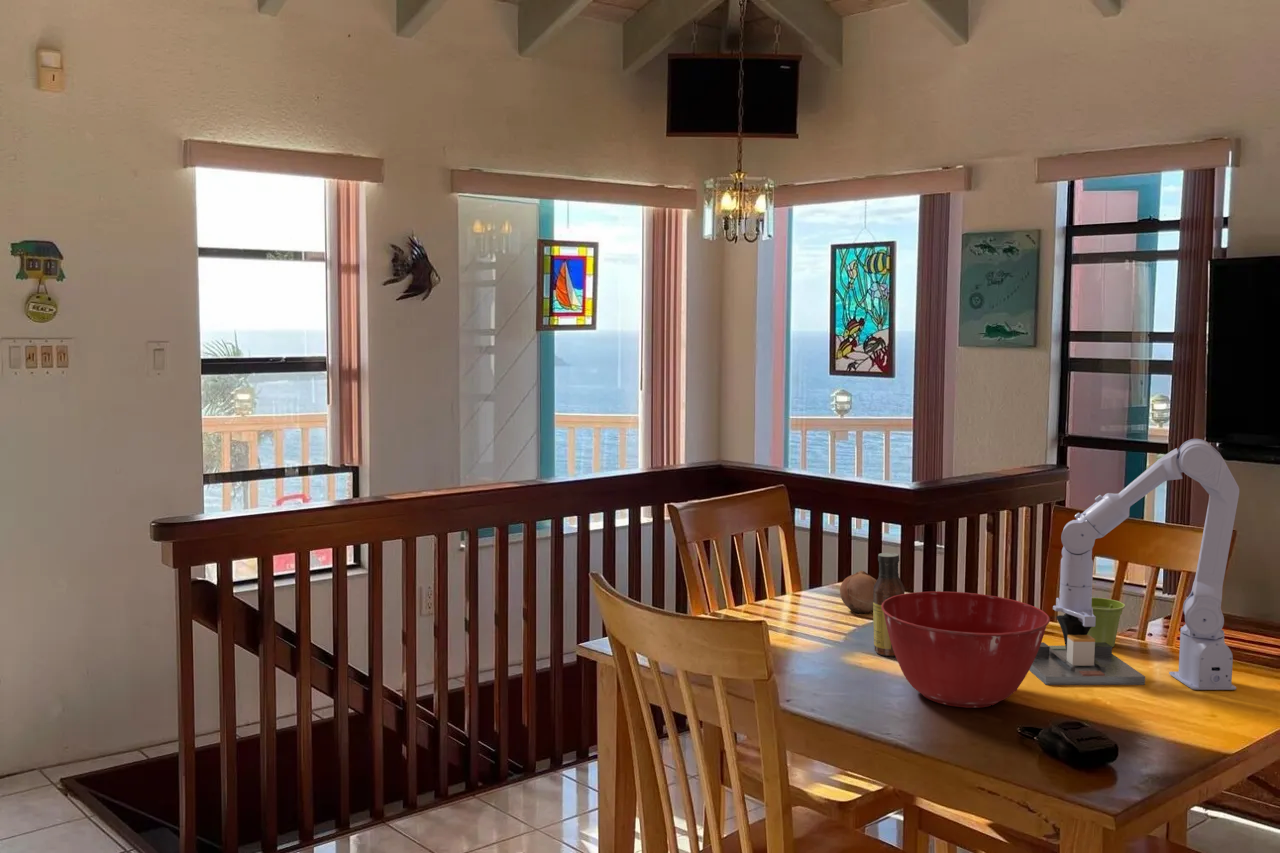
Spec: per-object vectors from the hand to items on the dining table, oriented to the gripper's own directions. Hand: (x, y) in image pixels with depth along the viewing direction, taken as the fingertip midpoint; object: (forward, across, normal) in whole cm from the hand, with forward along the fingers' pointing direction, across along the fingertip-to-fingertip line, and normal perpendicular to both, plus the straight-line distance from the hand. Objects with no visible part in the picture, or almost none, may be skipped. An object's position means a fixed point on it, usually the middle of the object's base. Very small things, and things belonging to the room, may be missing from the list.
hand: (1073, 654), depth 222 cm
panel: (+2, +1, 0) cm, 3 cm away
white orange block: (+1, +3, 0) cm, 3 cm away
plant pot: (+3, -15, +11) cm, 19 cm away
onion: (+3, -42, -32) cm, 53 cm away
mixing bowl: (+3, +17, -26) cm, 31 cm away
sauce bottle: (+3, -9, -33) cm, 34 cm away
